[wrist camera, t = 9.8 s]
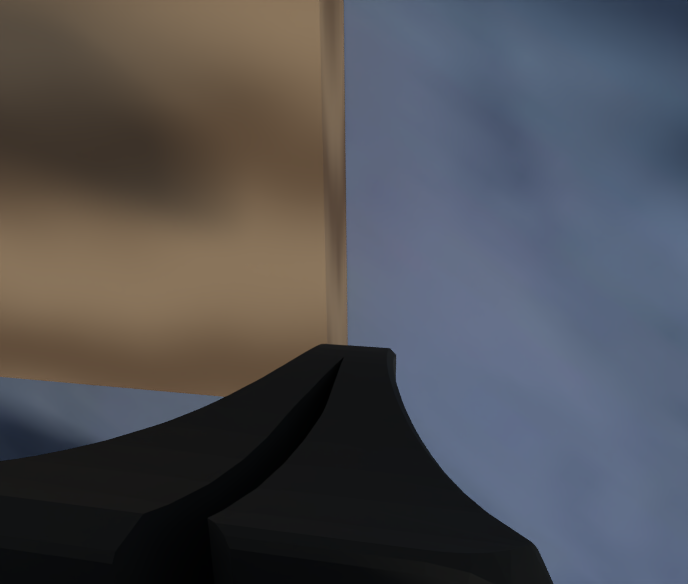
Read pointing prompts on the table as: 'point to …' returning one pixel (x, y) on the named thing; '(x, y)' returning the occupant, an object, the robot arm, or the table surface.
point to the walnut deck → (170, 190)
